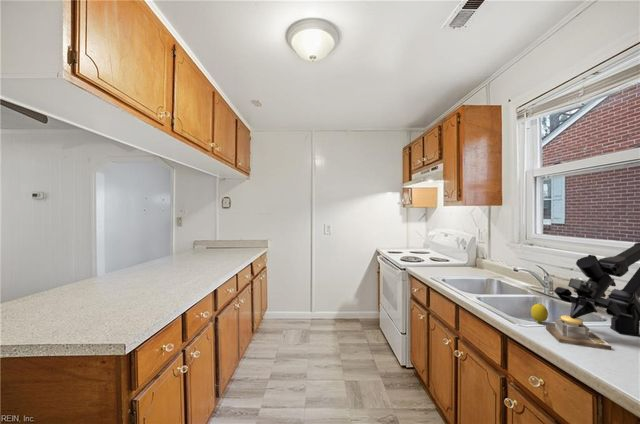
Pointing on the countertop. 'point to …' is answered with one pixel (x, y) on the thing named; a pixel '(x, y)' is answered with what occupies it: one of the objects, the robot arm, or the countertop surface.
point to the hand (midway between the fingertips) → (571, 317)
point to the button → (571, 320)
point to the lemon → (539, 312)
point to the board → (576, 335)
